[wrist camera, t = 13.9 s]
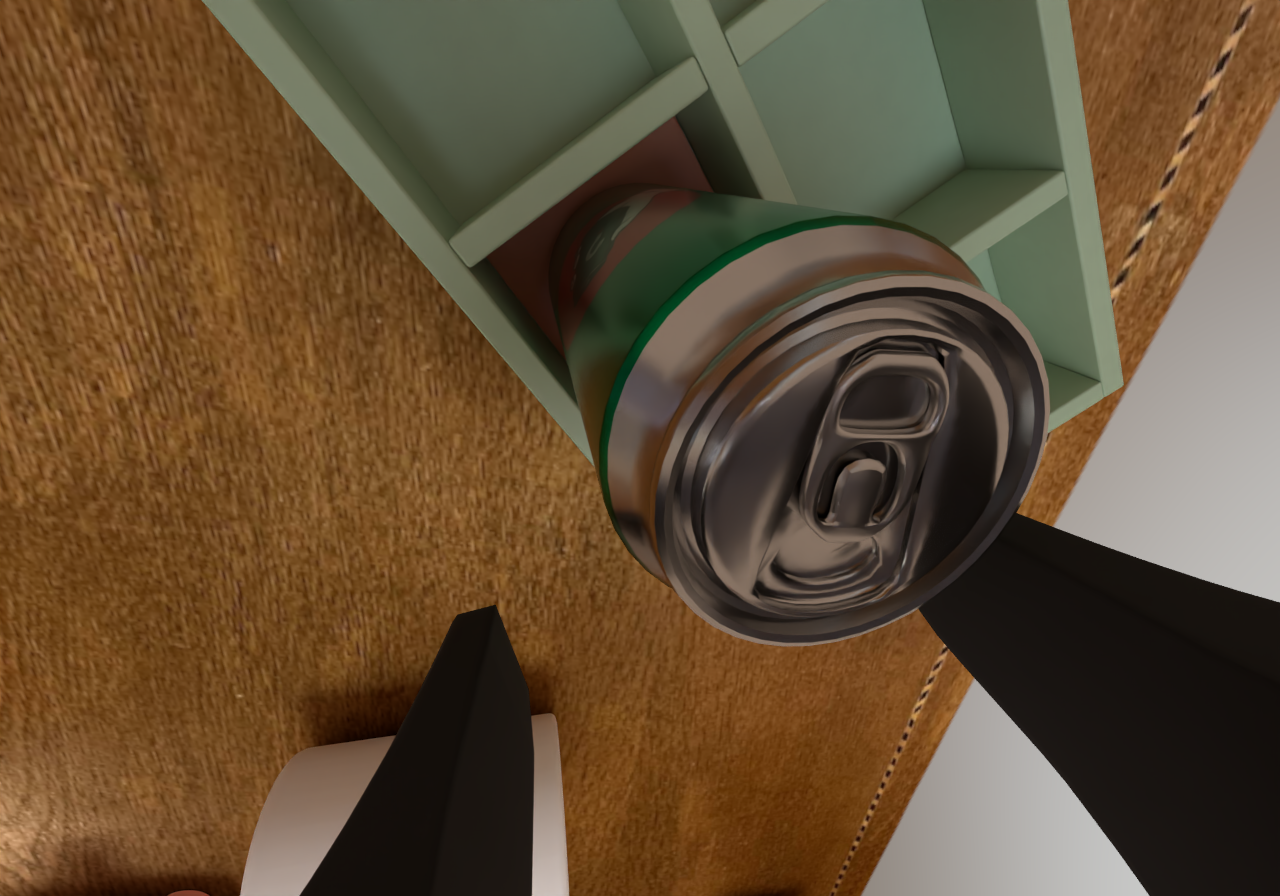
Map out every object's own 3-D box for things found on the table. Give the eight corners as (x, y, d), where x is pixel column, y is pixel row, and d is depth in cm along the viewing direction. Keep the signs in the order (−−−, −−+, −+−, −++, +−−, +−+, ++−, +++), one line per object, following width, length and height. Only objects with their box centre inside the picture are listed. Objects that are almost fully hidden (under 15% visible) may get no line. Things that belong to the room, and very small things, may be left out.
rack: (696, 553, 23) (732, 631, 19) (217, -44, 12) (85, -136, 8) (1016, 346, 21) (1125, 385, 17) (787, -538, 11) (936, -920, 7)
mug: (300, 704, 22) (201, 955, 15) (553, 671, 24) (570, 879, 17) (356, 869, 27) (302, 1109, 20) (558, 831, 29) (573, 1038, 22)
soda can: (544, 358, 17) (594, 690, 6) (550, 170, 14) (648, 191, 4) (703, 365, 18) (975, 656, 7) (732, 192, 16) (1182, 255, 5)
